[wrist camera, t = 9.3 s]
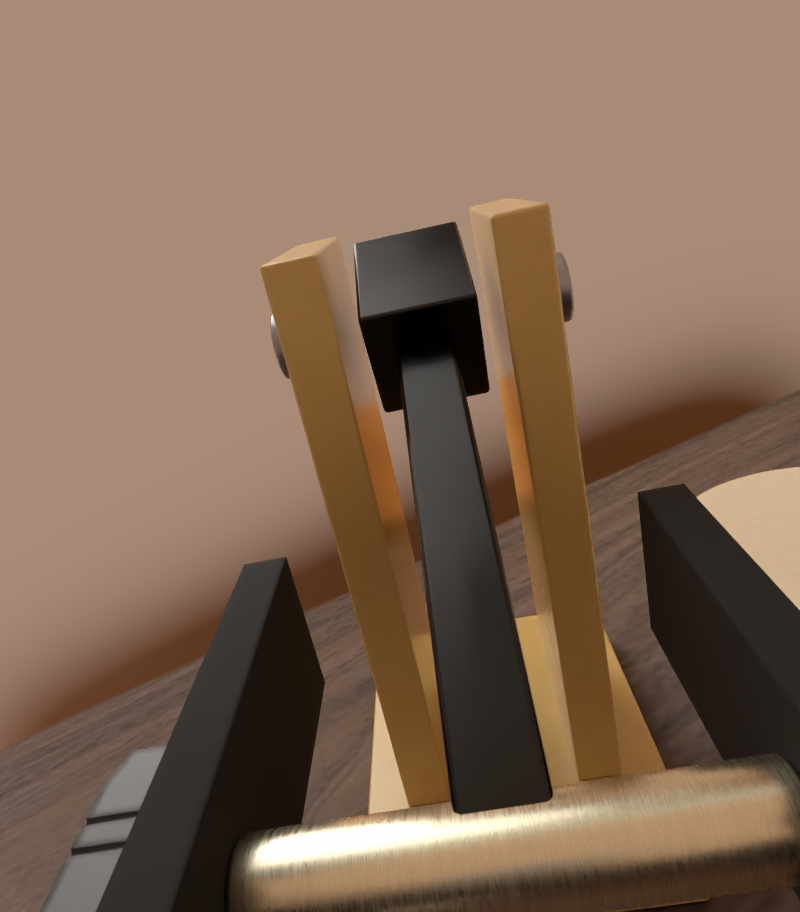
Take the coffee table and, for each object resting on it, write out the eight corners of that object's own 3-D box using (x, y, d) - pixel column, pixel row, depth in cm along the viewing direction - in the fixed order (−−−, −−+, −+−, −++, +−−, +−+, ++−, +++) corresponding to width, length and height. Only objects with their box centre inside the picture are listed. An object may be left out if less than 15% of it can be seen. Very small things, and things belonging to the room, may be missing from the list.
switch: (803, 906, 8) (865, 847, 6) (275, 976, 8) (193, 939, 6) (552, 297, 16) (547, 199, 14) (298, 350, 17) (265, 261, 15)
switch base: (710, 901, 14) (657, 189, 9) (373, 946, 15) (158, 299, 10) (598, 635, 23) (539, 186, 18) (386, 670, 23) (272, 246, 18)
